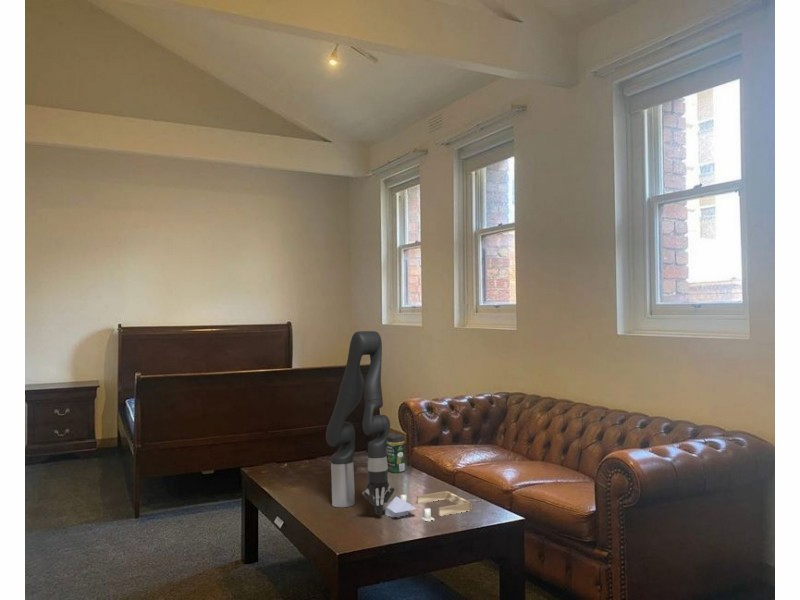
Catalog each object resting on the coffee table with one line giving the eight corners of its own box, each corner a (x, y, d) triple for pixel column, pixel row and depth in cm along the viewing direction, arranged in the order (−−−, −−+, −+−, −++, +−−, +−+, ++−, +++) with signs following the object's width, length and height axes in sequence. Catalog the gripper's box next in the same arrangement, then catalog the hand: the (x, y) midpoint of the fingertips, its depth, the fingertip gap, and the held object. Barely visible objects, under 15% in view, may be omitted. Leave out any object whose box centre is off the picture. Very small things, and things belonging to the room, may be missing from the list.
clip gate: (398, 504, 249) (397, 494, 250) (406, 503, 251) (405, 493, 251) (425, 521, 227) (425, 510, 227) (434, 520, 229) (434, 509, 229)
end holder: (416, 503, 250) (416, 495, 250) (447, 498, 256) (447, 490, 256) (439, 516, 233) (439, 508, 233) (472, 510, 238) (471, 502, 239)
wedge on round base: (417, 517, 232) (401, 508, 244) (416, 499, 232) (401, 491, 244) (395, 522, 228) (381, 512, 240) (395, 503, 228) (380, 495, 240)
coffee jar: (383, 470, 306) (382, 433, 306) (396, 468, 310) (395, 431, 311) (394, 474, 298) (393, 435, 298) (408, 471, 302) (406, 433, 303)
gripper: (389, 464, 239) (391, 509, 239) (357, 468, 234) (359, 514, 233) (397, 468, 232) (399, 514, 232) (364, 472, 227) (366, 520, 226)
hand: (378, 514), depth 233 cm, fingers closed
